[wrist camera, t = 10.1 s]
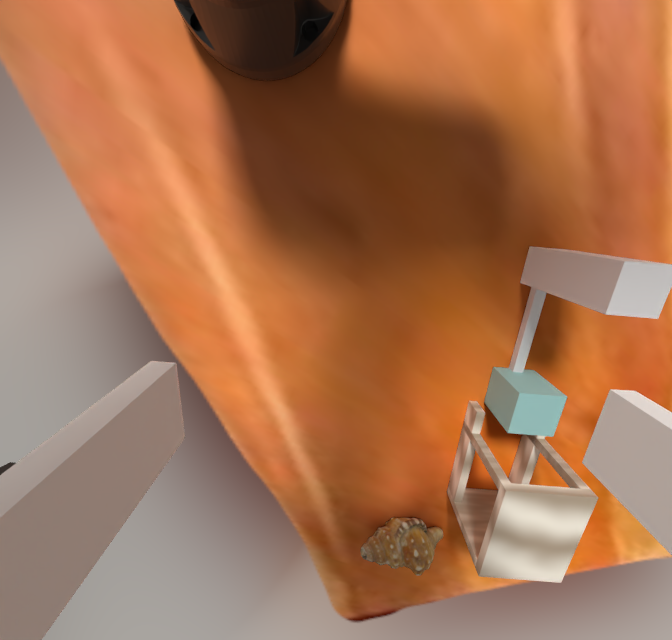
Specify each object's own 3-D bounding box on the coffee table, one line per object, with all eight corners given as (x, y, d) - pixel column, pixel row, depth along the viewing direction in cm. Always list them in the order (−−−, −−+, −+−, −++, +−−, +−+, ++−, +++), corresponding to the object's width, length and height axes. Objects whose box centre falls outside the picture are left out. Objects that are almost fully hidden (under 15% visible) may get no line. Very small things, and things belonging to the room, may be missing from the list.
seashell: (385, 531, 51) (359, 584, 43) (385, 487, 50) (358, 532, 42) (443, 555, 47) (427, 619, 38) (444, 506, 46) (428, 562, 37)
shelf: (469, 400, 40) (513, 466, 29) (539, 406, 40) (609, 473, 29) (446, 491, 44) (478, 576, 34) (509, 496, 45) (560, 582, 34)
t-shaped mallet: (525, 245, 34) (617, 260, 22) (571, 249, 34) (687, 266, 22) (484, 402, 40) (540, 476, 28) (523, 405, 40) (595, 480, 28)
